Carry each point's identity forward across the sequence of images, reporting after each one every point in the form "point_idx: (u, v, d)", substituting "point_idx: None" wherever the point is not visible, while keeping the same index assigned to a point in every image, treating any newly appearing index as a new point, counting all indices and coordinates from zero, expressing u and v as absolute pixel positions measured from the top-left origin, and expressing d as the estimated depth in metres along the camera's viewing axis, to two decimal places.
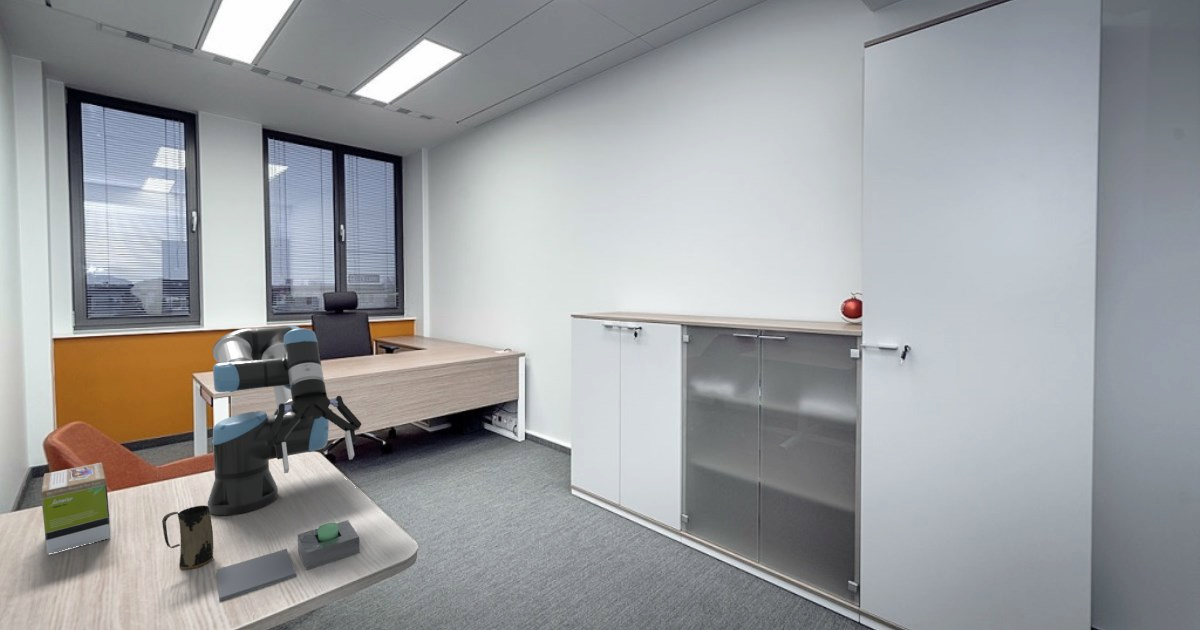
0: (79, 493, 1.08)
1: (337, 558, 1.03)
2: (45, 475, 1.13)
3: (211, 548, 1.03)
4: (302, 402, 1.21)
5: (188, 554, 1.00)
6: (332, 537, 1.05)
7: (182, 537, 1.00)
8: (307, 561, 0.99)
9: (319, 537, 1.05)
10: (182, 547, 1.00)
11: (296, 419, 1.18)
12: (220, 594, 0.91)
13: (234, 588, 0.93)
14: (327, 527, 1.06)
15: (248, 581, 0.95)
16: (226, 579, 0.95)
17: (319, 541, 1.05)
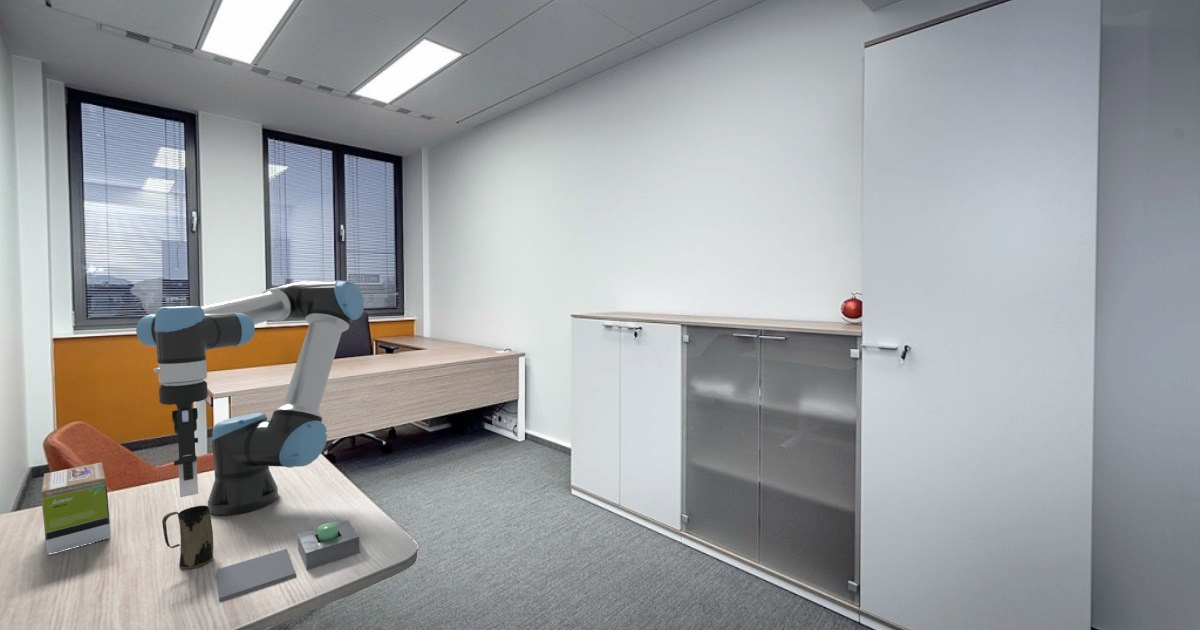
0: (79, 493, 1.08)
1: (337, 558, 1.03)
2: (45, 475, 1.13)
3: (211, 548, 1.03)
4: None
5: (188, 554, 1.00)
6: (332, 537, 1.05)
7: (182, 537, 1.00)
8: (307, 561, 0.99)
9: (319, 537, 1.05)
10: (182, 547, 1.00)
11: None
12: (220, 594, 0.91)
13: (234, 588, 0.93)
14: (327, 527, 1.06)
15: (248, 581, 0.95)
16: (226, 579, 0.95)
17: (319, 541, 1.05)
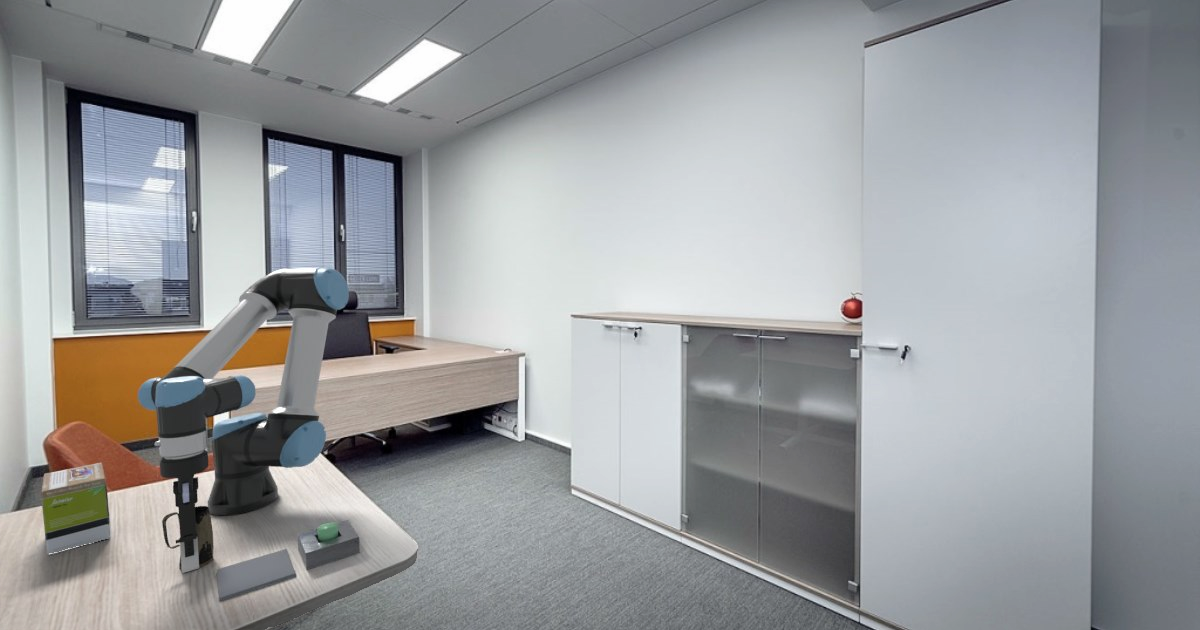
0: (79, 493, 1.08)
1: (337, 558, 1.03)
2: (45, 475, 1.13)
3: (211, 548, 1.03)
4: None
5: None
6: (332, 537, 1.05)
7: None
8: (307, 561, 0.99)
9: (319, 537, 1.05)
10: None
11: None
12: (220, 594, 0.91)
13: (234, 588, 0.93)
14: (327, 527, 1.06)
15: (248, 581, 0.95)
16: (226, 579, 0.95)
17: (319, 541, 1.05)
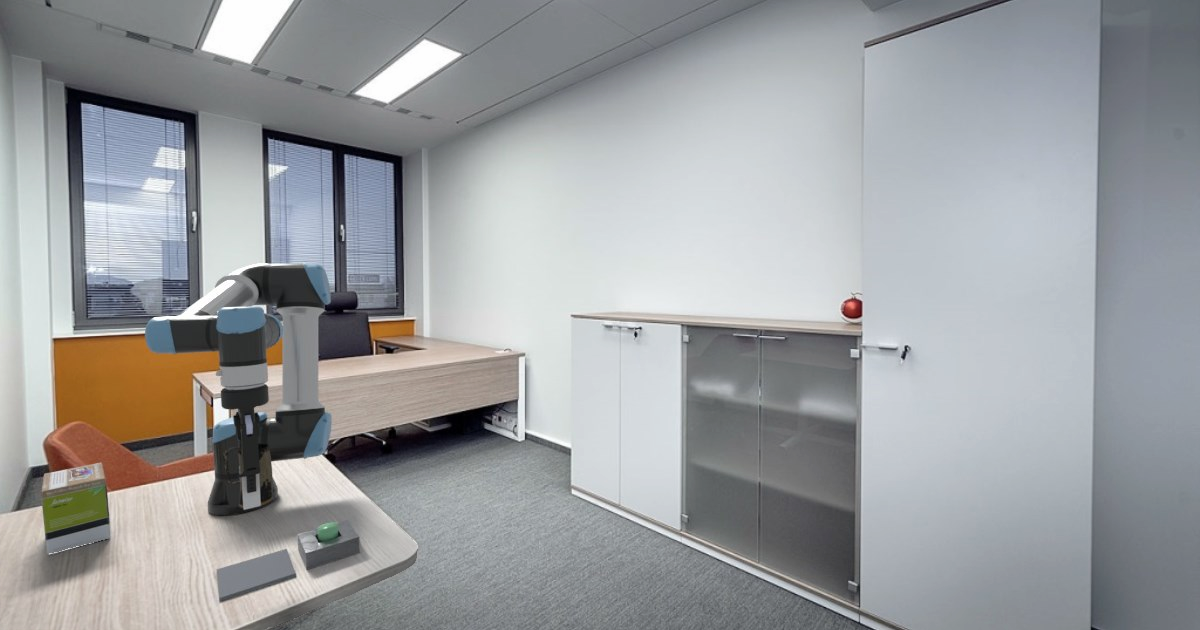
0: (79, 493, 1.08)
1: (337, 558, 1.03)
2: (45, 475, 1.13)
3: (271, 487, 0.98)
4: (238, 409, 0.97)
5: None
6: (332, 537, 1.05)
7: None
8: (307, 561, 0.99)
9: (319, 537, 1.05)
10: None
11: None
12: (220, 594, 0.91)
13: (234, 588, 0.93)
14: (327, 527, 1.06)
15: (248, 581, 0.95)
16: (226, 579, 0.95)
17: (319, 541, 1.05)
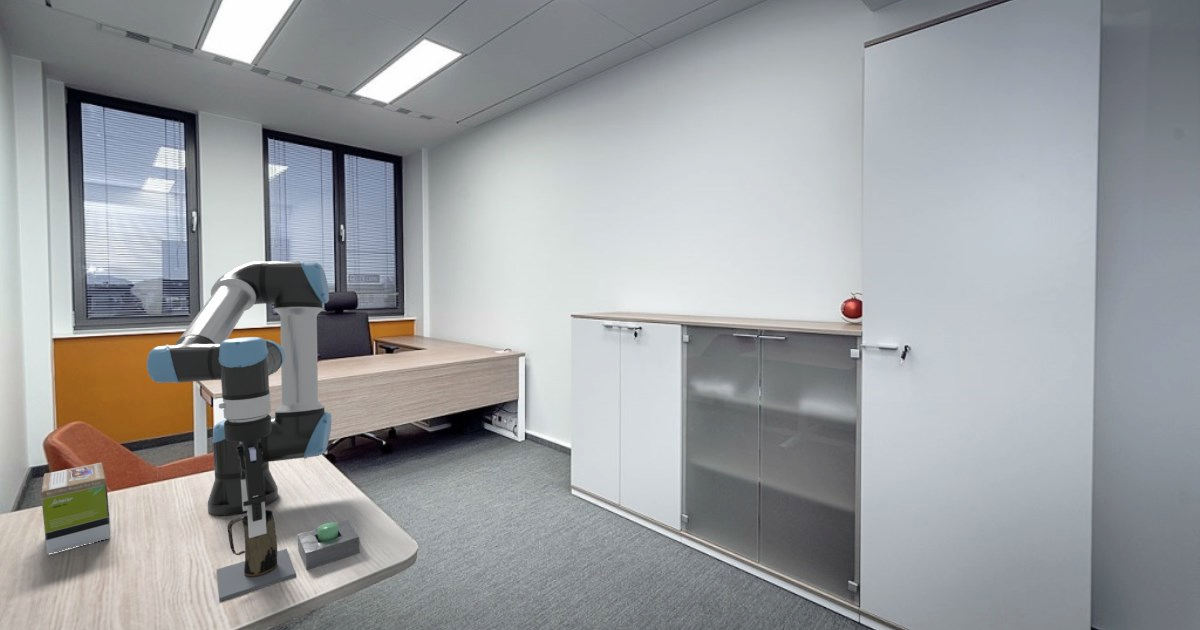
0: (79, 493, 1.08)
1: (337, 558, 1.03)
2: (45, 475, 1.13)
3: (275, 554, 0.99)
4: (241, 441, 0.97)
5: (253, 561, 0.96)
6: (332, 537, 1.05)
7: (247, 543, 0.96)
8: (307, 561, 0.99)
9: (319, 537, 1.05)
10: (247, 554, 0.96)
11: None
12: (220, 594, 0.91)
13: (234, 588, 0.93)
14: (327, 527, 1.06)
15: (248, 581, 0.95)
16: (226, 579, 0.95)
17: (319, 541, 1.05)
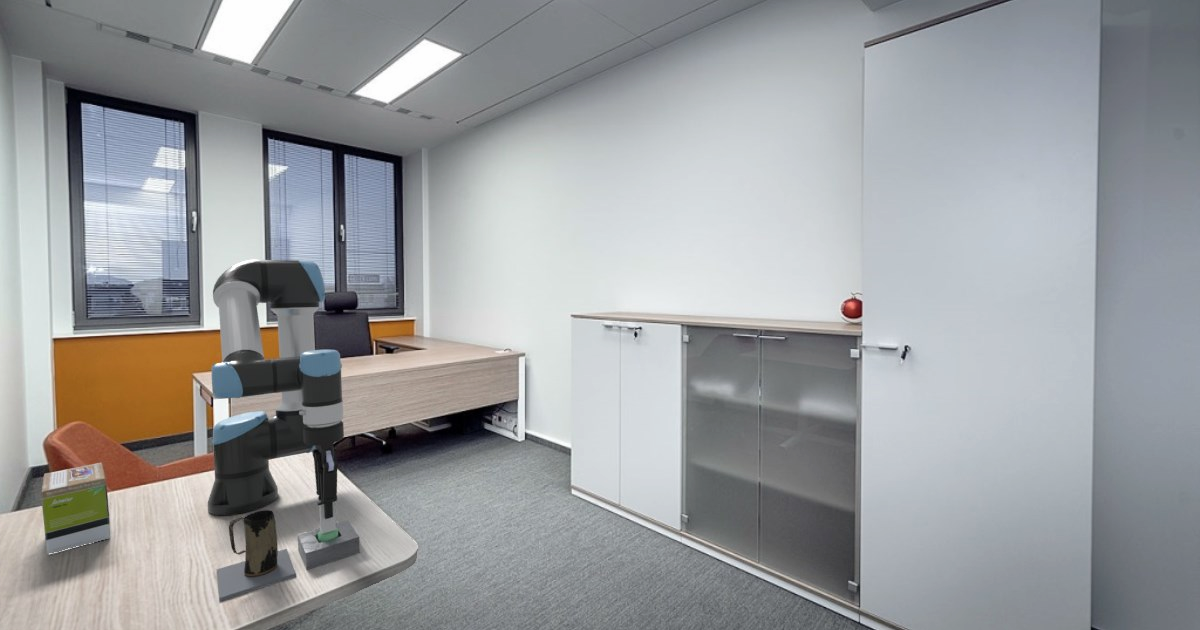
0: (79, 493, 1.08)
1: (337, 558, 1.03)
2: (45, 475, 1.13)
3: (276, 554, 0.99)
4: None
5: (254, 561, 0.96)
6: None
7: (248, 543, 0.96)
8: (307, 561, 0.99)
9: (319, 542, 1.05)
10: (248, 553, 0.96)
11: (317, 470, 1.05)
12: (220, 594, 0.91)
13: (234, 588, 0.93)
14: (327, 532, 1.06)
15: (248, 581, 0.95)
16: (226, 579, 0.95)
17: None
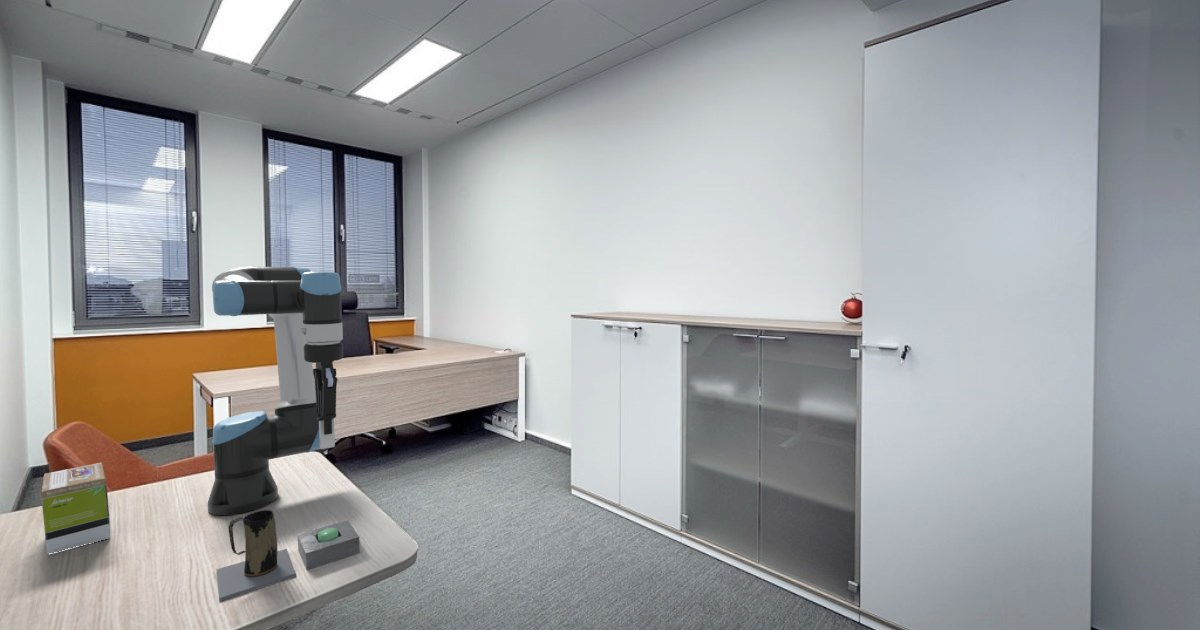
0: (79, 493, 1.08)
1: (337, 558, 1.03)
2: (45, 475, 1.13)
3: (276, 554, 0.99)
4: (316, 362, 1.09)
5: (254, 561, 0.96)
6: None
7: (247, 543, 0.96)
8: (307, 561, 0.99)
9: None
10: (247, 554, 0.96)
11: (317, 388, 1.09)
12: (220, 594, 0.91)
13: (234, 588, 0.93)
14: (327, 533, 1.06)
15: (248, 581, 0.95)
16: (226, 579, 0.95)
17: None
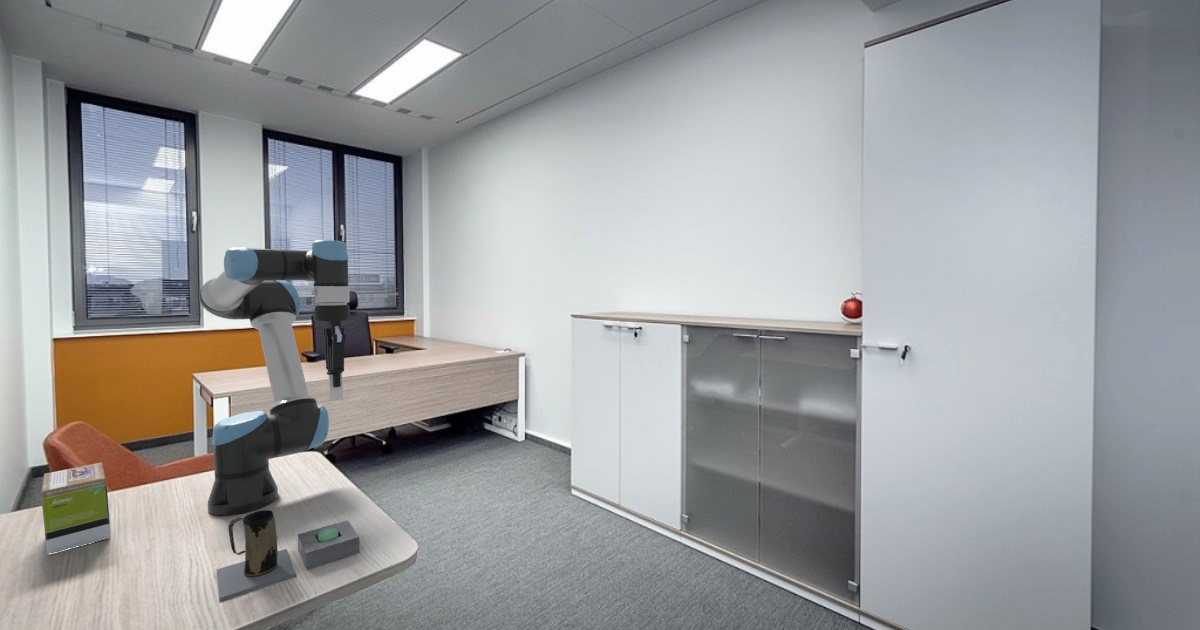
0: (79, 493, 1.08)
1: (337, 558, 1.03)
2: (45, 475, 1.13)
3: (276, 554, 0.99)
4: (325, 322, 1.22)
5: (254, 561, 0.96)
6: None
7: (247, 543, 0.96)
8: (307, 561, 0.99)
9: None
10: (247, 554, 0.96)
11: (327, 346, 1.21)
12: (220, 594, 0.91)
13: (234, 588, 0.93)
14: (327, 533, 1.06)
15: (248, 581, 0.95)
16: (226, 579, 0.95)
17: None
